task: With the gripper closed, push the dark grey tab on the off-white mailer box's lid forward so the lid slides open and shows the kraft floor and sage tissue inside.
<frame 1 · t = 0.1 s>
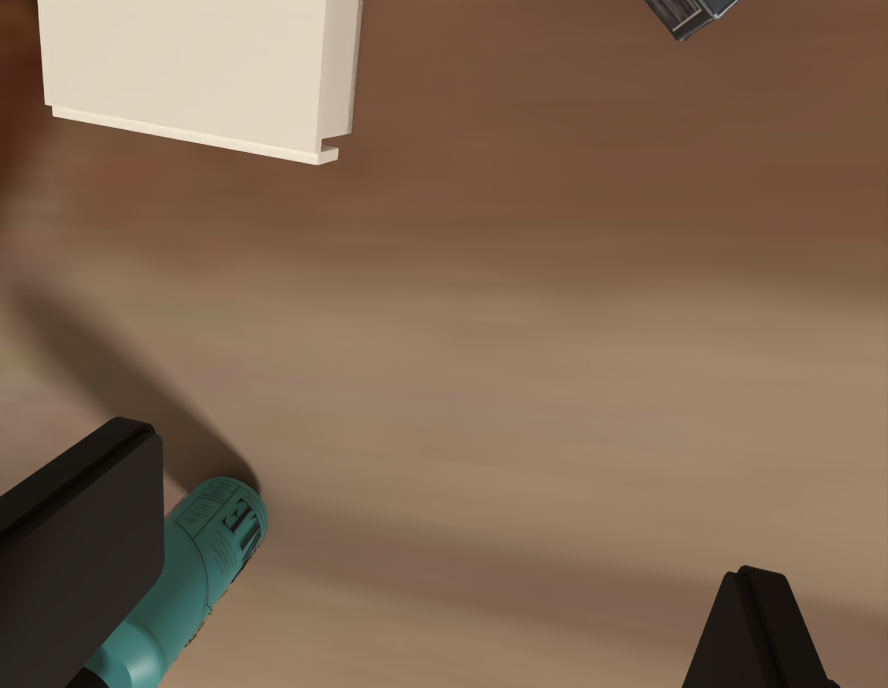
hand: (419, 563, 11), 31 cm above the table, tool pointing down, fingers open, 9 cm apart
beverage bottle: (242, 498, 51), on the table
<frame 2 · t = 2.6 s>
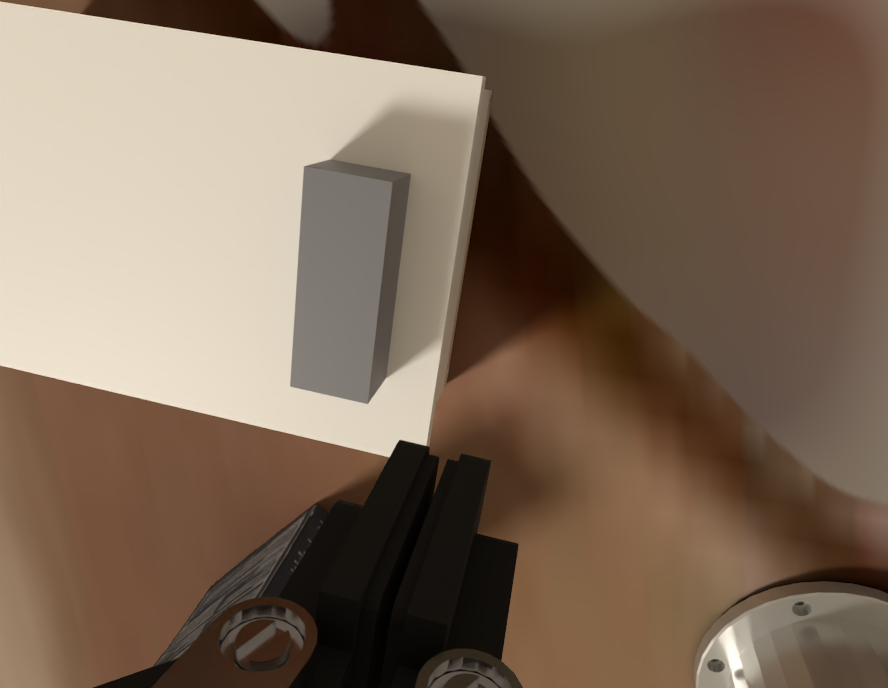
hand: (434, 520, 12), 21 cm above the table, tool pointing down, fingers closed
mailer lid: (189, 236, 27), point 6 cm above the table, slide at 0.0 cm
small box: (299, 579, 41), on the table
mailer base: (267, 211, 33), on the table
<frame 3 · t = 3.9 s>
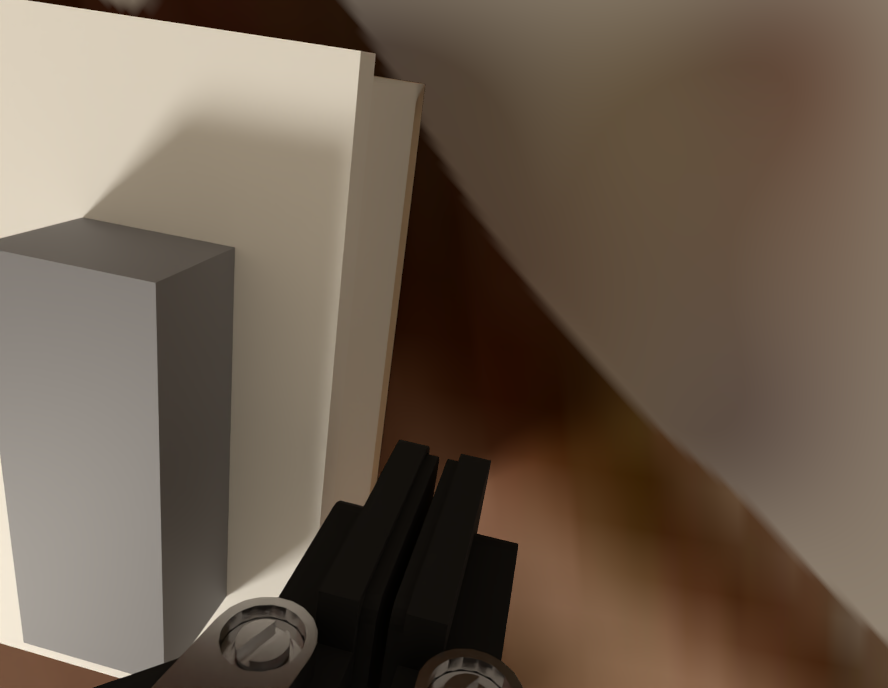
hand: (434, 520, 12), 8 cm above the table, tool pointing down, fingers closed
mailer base: (85, 273, 21), on the table
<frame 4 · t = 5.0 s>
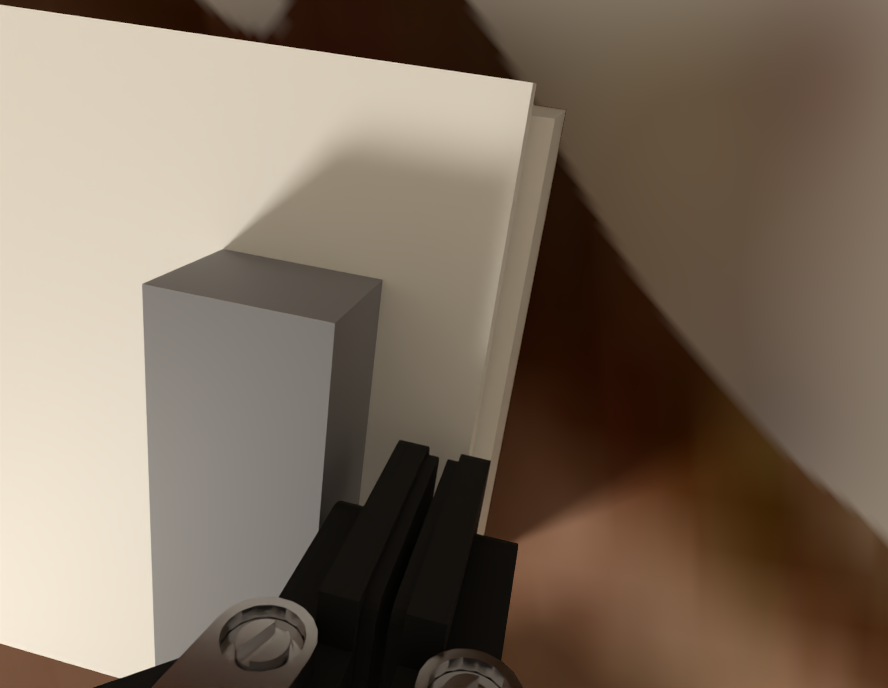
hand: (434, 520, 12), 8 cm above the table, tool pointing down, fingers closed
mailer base: (195, 299, 21), on the table
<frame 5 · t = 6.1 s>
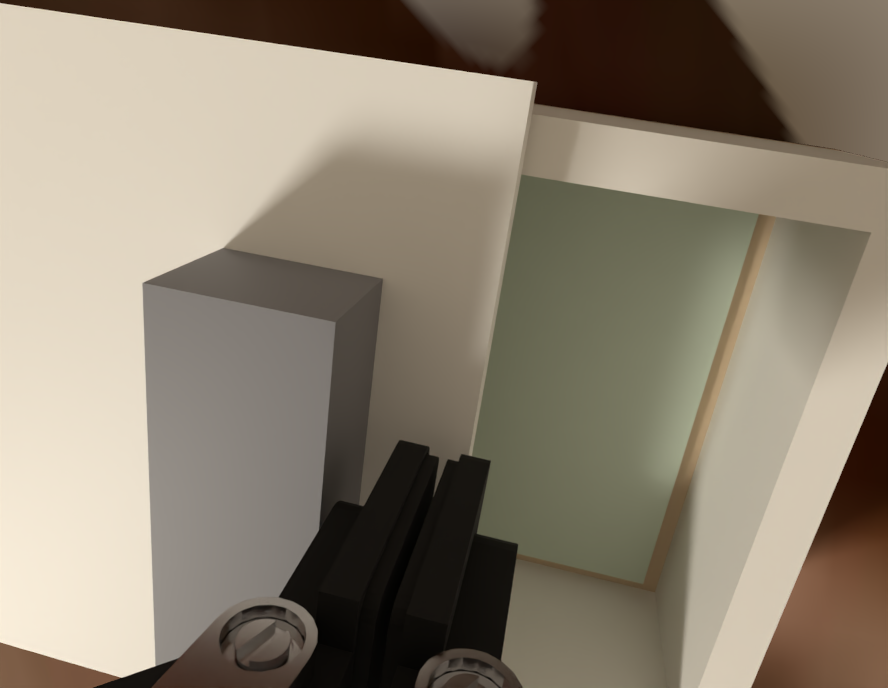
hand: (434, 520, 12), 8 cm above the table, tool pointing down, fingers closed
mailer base: (393, 339, 20), on the table
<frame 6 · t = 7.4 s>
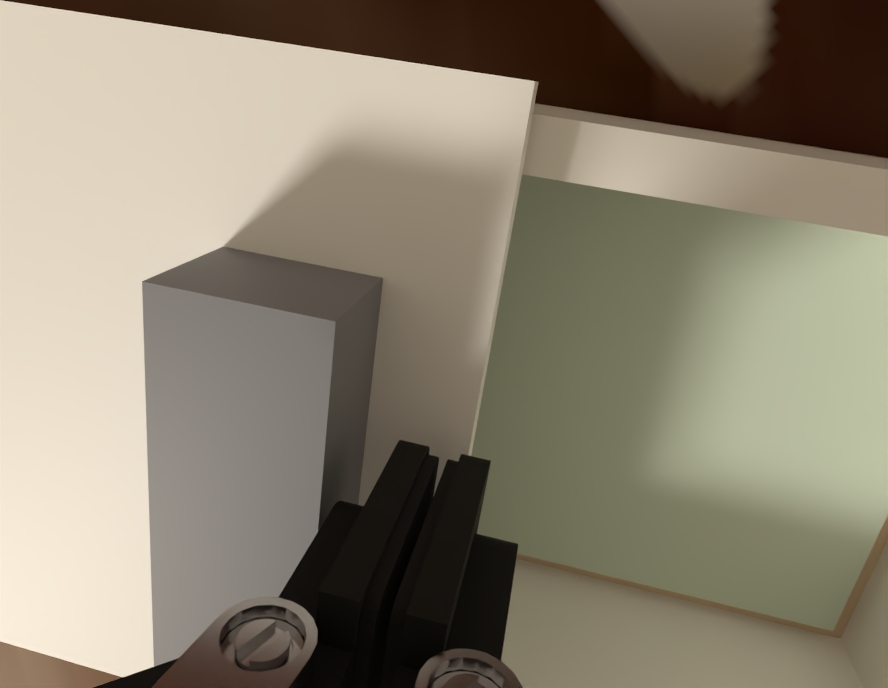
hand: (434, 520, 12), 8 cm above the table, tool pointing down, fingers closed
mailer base: (573, 375, 19), on the table
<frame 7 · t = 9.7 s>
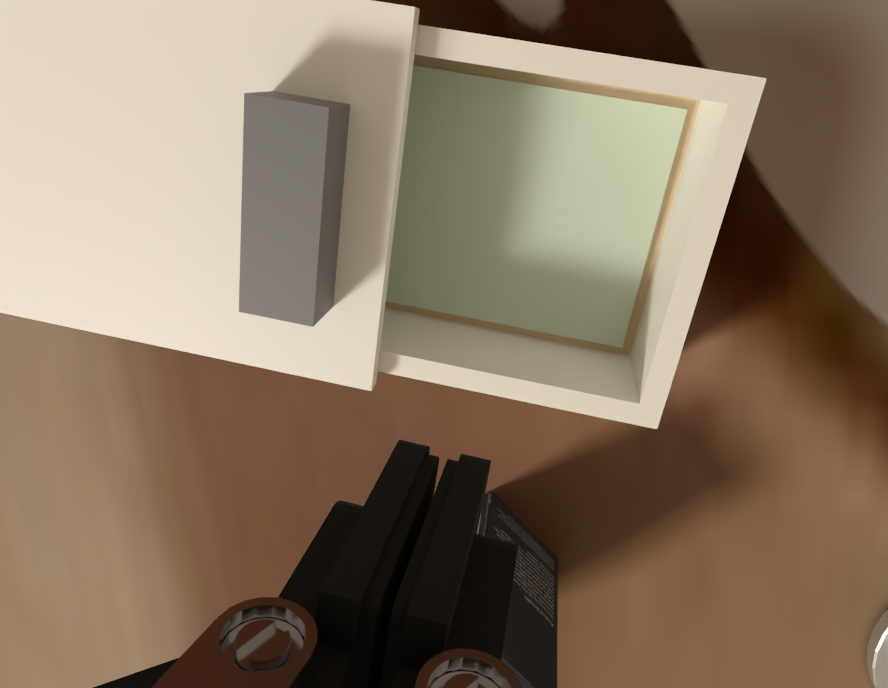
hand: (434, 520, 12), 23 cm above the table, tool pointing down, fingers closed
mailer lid: (139, 170, 28), point 6 cm above the table, slide at 12.7 cm
small box: (462, 566, 41), on the table
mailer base: (471, 199, 32), on the table
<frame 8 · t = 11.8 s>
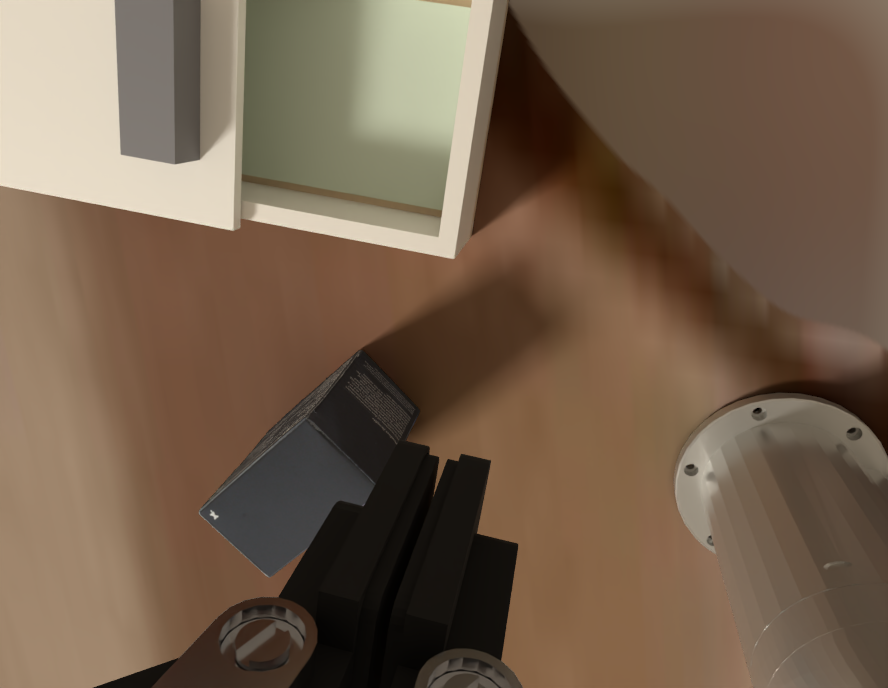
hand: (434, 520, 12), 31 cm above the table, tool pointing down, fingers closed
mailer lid: (54, 55, 36), point 6 cm above the table, slide at 12.7 cm
small box: (344, 420, 49), on the table
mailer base: (326, 92, 40), on the table
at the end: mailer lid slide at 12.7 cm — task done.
